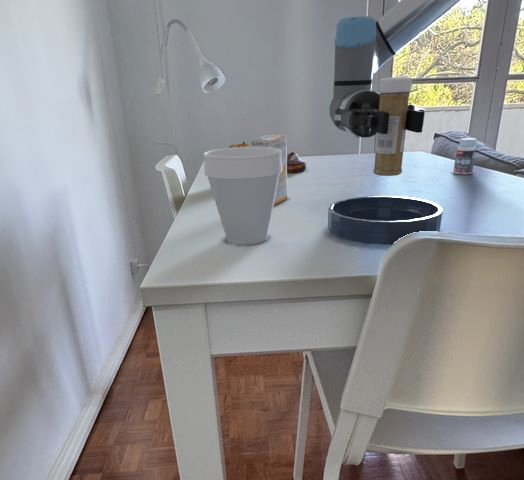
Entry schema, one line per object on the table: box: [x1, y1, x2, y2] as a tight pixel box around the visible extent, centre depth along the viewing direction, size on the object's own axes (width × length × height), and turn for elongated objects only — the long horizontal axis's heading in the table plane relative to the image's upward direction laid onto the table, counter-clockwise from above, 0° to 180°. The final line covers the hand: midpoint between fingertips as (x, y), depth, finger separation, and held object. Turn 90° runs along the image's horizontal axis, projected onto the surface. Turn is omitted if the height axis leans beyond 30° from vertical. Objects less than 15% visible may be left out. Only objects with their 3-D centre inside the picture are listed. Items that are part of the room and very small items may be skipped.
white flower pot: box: [202, 147, 283, 246], centre depth 76 cm, size 12×12×14 cm
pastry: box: [287, 151, 307, 173], centre depth 137 cm, size 8×8×5 cm
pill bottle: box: [452, 137, 478, 176], centre depth 123 cm, size 5×5×8 cm
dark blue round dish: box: [327, 195, 444, 245], centre depth 79 cm, size 18×18×4 cm
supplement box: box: [249, 134, 288, 206], centre depth 100 cm, size 8×5×13 cm, turn 154°
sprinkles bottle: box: [373, 76, 413, 177], centre depth 72 cm, size 5×5×14 cm
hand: (403, 122), depth 67 cm, fingers closed on sprinkles bottle, 4 cm apart
